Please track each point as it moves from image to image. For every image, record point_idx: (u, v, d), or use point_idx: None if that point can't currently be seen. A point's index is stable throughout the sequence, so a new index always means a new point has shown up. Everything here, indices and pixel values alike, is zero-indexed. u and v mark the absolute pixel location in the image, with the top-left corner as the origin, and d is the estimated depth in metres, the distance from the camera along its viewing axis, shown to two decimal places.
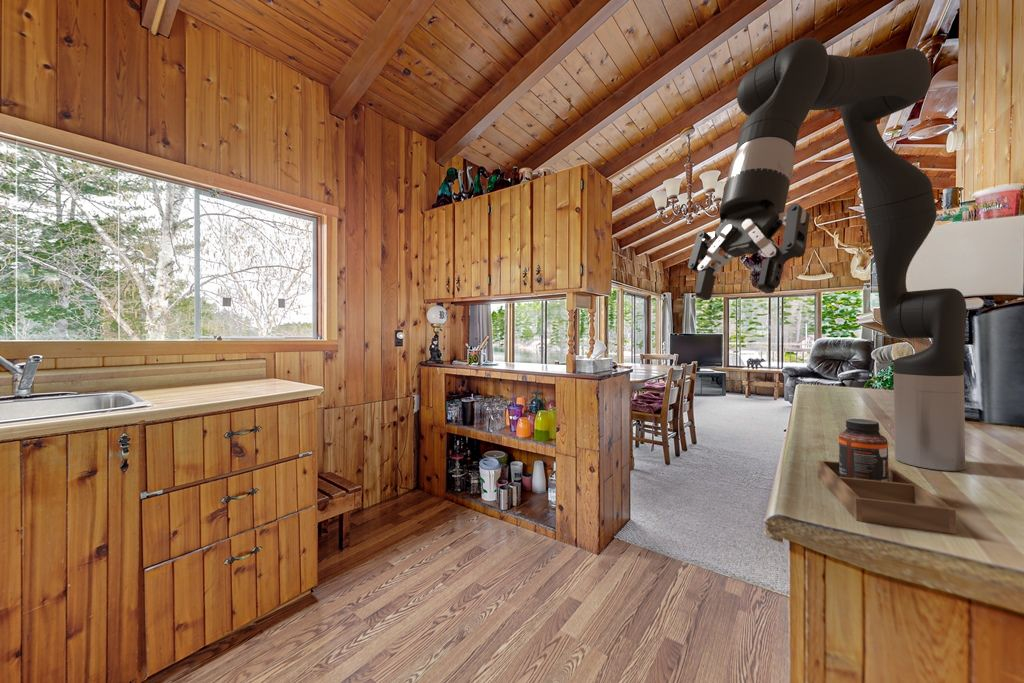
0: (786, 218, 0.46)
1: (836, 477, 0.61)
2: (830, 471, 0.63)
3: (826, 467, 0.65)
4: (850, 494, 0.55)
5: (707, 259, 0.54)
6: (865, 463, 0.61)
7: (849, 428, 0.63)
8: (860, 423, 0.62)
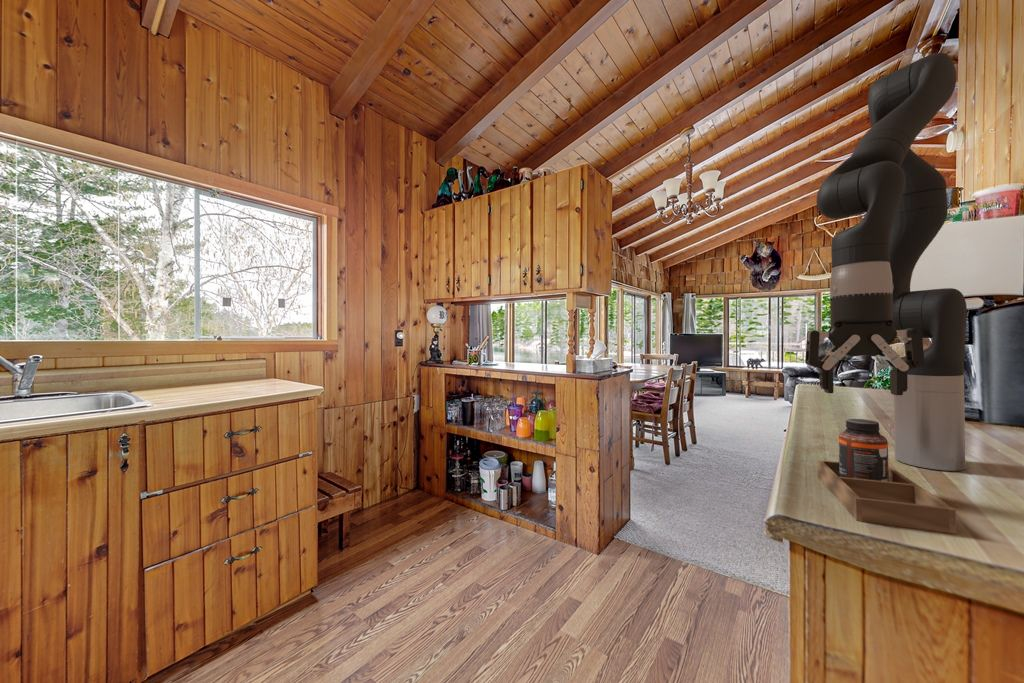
0: (912, 339, 0.59)
1: (836, 477, 0.61)
2: (830, 471, 0.63)
3: (826, 467, 0.65)
4: (850, 494, 0.55)
5: (833, 361, 0.63)
6: (865, 463, 0.61)
7: (849, 428, 0.63)
8: (860, 423, 0.62)
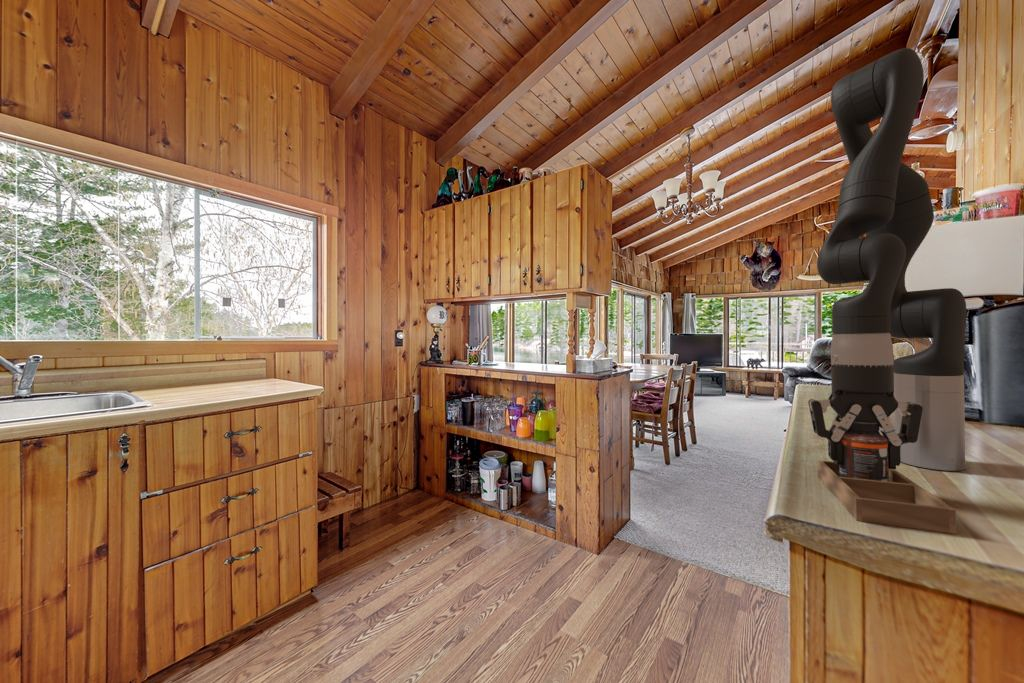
0: (911, 415, 0.60)
1: (836, 477, 0.61)
2: (830, 471, 0.63)
3: (826, 467, 0.65)
4: (850, 494, 0.55)
5: (840, 432, 0.63)
6: (865, 462, 0.61)
7: (849, 428, 0.63)
8: (860, 423, 0.62)
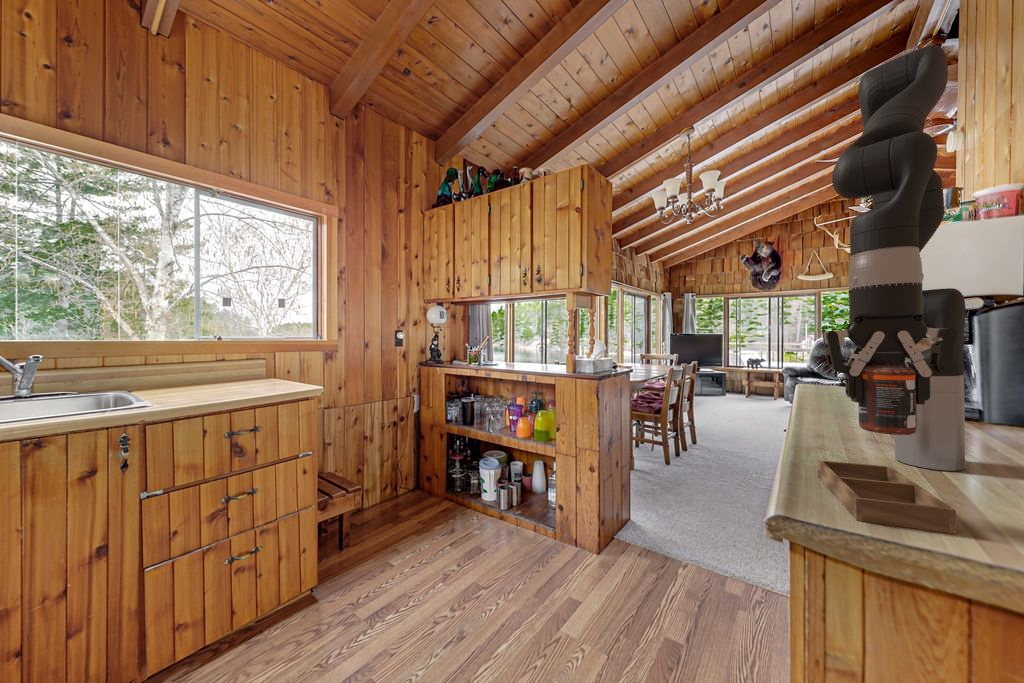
0: (942, 340, 0.52)
1: (836, 477, 0.61)
2: (830, 471, 0.63)
3: (826, 467, 0.65)
4: (850, 494, 0.55)
5: (860, 365, 0.55)
6: (889, 397, 0.53)
7: (870, 360, 0.55)
8: (883, 353, 0.54)
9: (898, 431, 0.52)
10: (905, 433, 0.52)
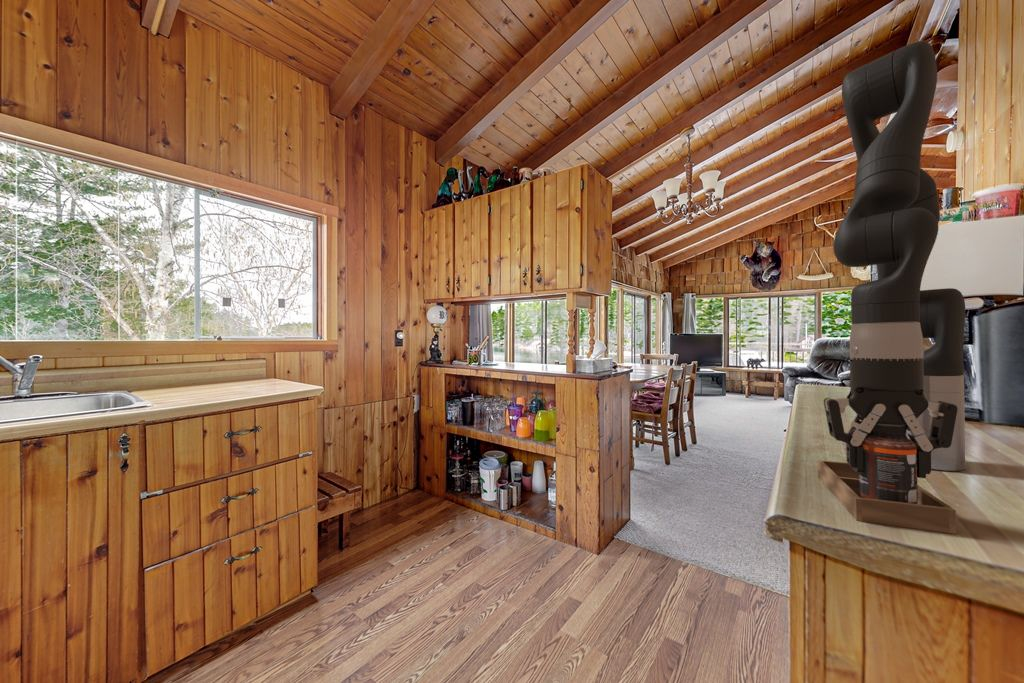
0: (944, 416, 0.52)
1: (836, 477, 0.61)
2: (830, 471, 0.63)
3: (826, 467, 0.65)
4: (850, 494, 0.55)
5: (861, 435, 0.55)
6: (890, 471, 0.53)
7: (871, 431, 0.55)
8: (884, 425, 0.54)
9: None
10: None
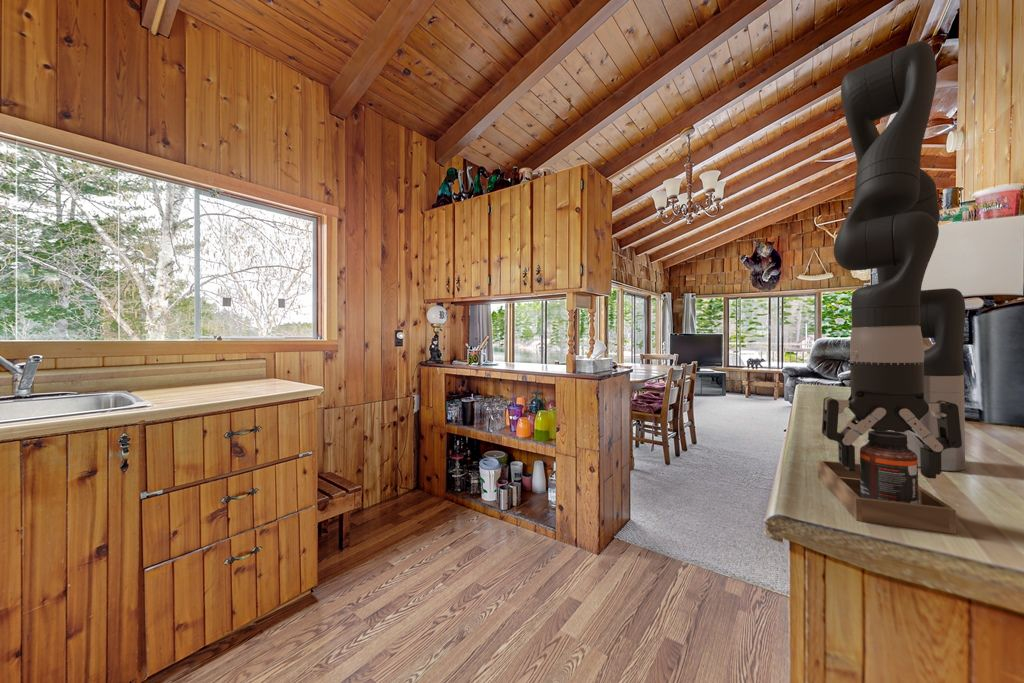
0: (947, 416, 0.52)
1: (836, 477, 0.61)
2: (830, 471, 0.63)
3: (826, 467, 0.65)
4: (850, 494, 0.55)
5: (854, 435, 0.56)
6: (892, 482, 0.53)
7: (872, 441, 0.55)
8: (885, 436, 0.54)
9: None
10: None
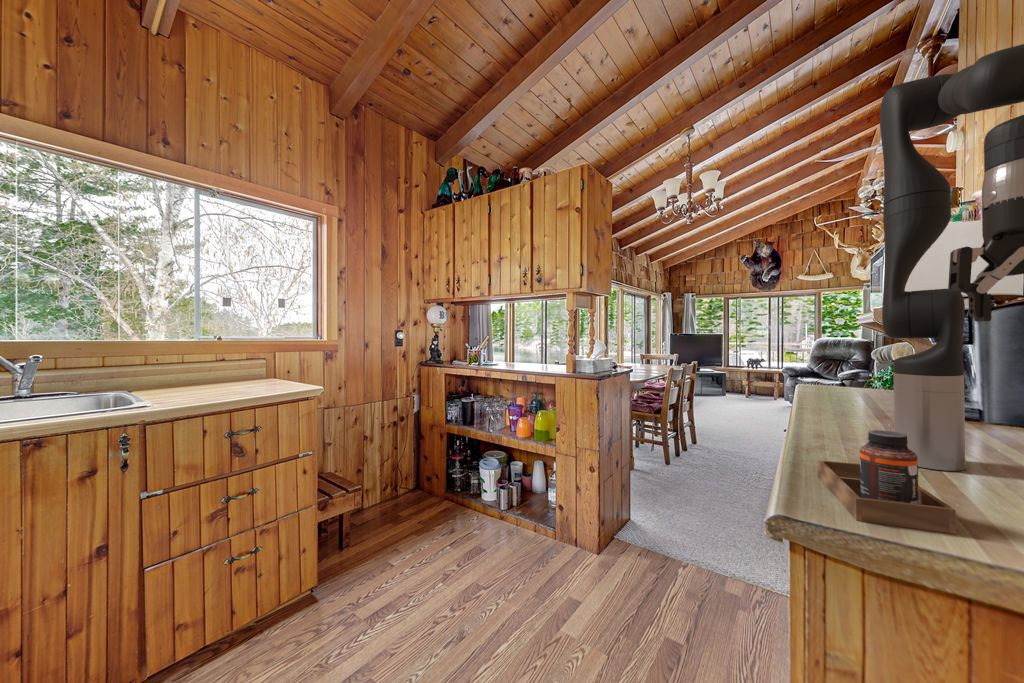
0: None
1: (836, 477, 0.61)
2: (830, 471, 0.63)
3: (826, 467, 0.65)
4: (850, 494, 0.55)
5: (991, 282, 0.53)
6: (892, 482, 0.53)
7: (872, 441, 0.55)
8: (885, 436, 0.54)
9: None
10: None
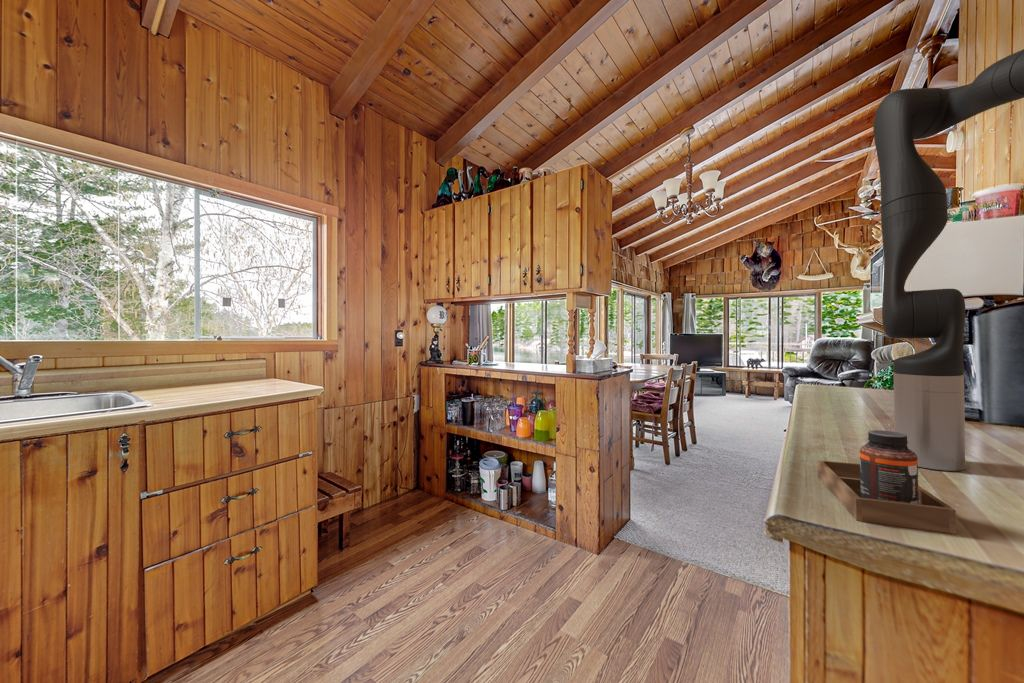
0: None
1: (836, 477, 0.61)
2: (830, 471, 0.63)
3: (826, 467, 0.65)
4: (850, 494, 0.55)
5: None
6: (892, 482, 0.53)
7: (872, 441, 0.55)
8: (885, 436, 0.54)
9: None
10: None
